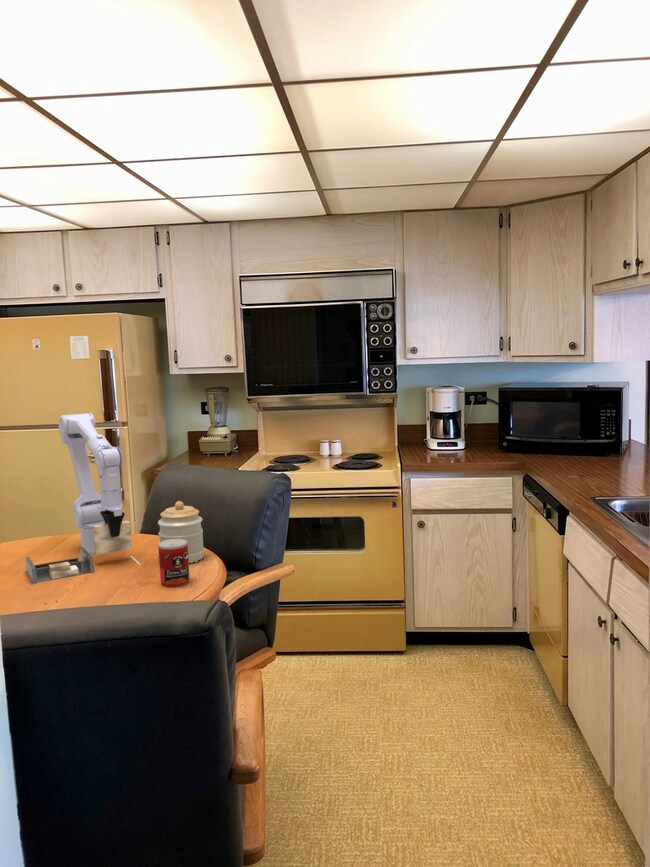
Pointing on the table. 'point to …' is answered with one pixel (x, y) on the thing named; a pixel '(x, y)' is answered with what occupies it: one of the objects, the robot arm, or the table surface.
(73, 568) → the offcut lower
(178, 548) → the canned food
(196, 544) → the jar
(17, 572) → the table surface
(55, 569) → the offcut upper
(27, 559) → the rack
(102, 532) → the wooden block
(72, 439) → the robot arm
